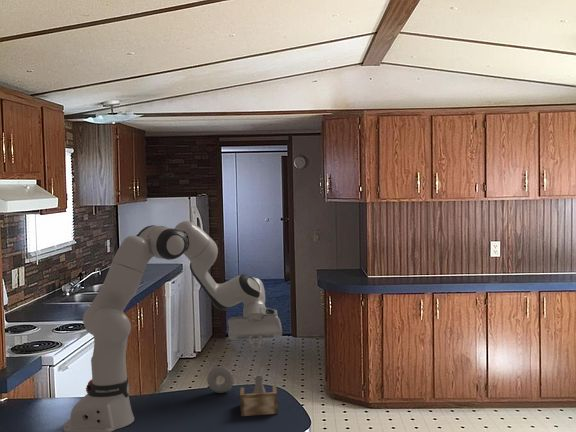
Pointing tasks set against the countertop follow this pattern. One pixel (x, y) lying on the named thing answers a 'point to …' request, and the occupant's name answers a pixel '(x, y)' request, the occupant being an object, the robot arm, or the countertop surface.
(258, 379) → the flask
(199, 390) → the countertop surface
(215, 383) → the donut
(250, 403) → the wooden arch bench
